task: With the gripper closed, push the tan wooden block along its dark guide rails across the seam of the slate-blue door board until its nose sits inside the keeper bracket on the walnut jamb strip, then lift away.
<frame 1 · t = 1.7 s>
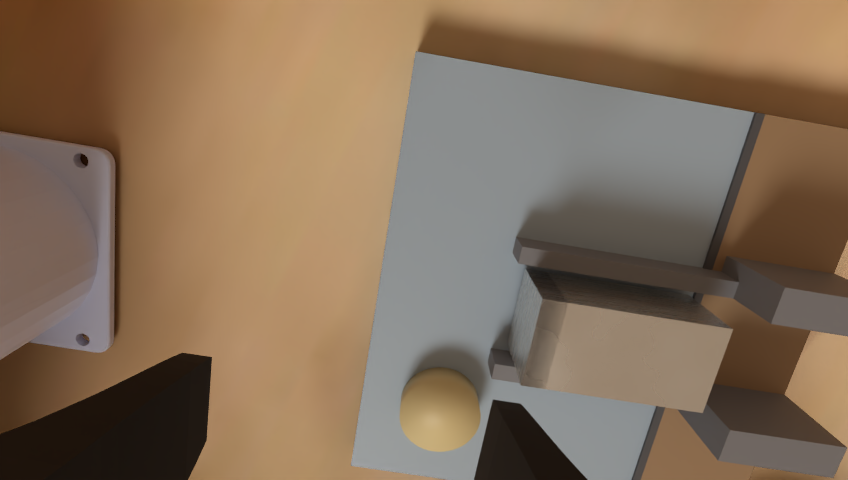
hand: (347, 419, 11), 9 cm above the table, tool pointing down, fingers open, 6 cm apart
door board: (584, 303, 20), on the table
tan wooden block: (609, 337, 18), point 3 cm above the table, slide at 0.0 cm
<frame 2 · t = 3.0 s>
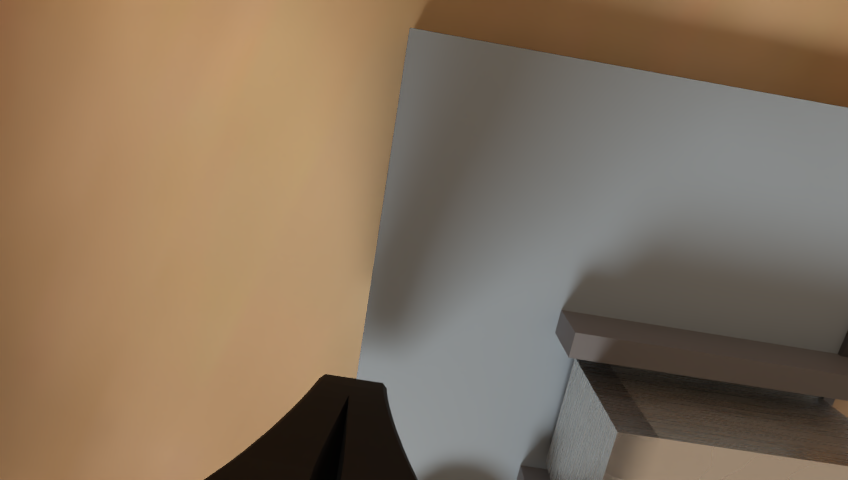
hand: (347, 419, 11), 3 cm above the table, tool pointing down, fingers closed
door board: (652, 395, 14), on the table
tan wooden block: (708, 469, 11), point 3 cm above the table, slide at 0.0 cm
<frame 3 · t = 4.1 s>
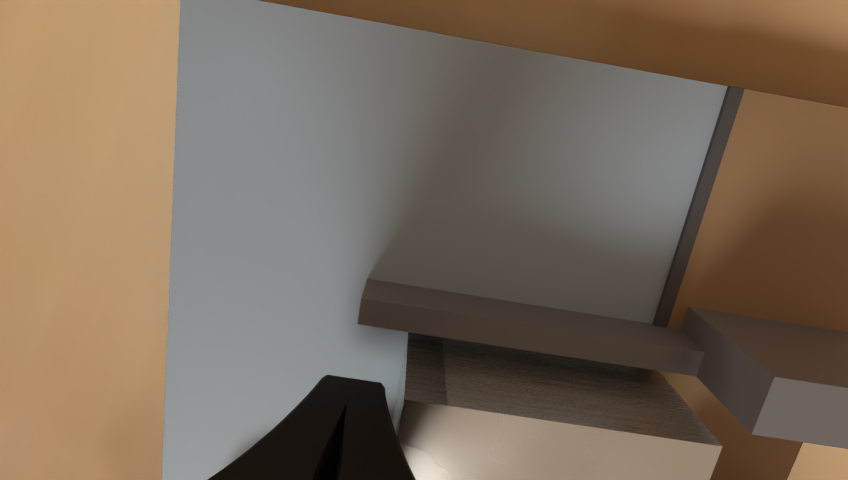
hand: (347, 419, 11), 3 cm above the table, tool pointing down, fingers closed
door board: (487, 369, 14), on the table
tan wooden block: (532, 442, 11), point 3 cm above the table, slide at 0.7 cm, touching gripper
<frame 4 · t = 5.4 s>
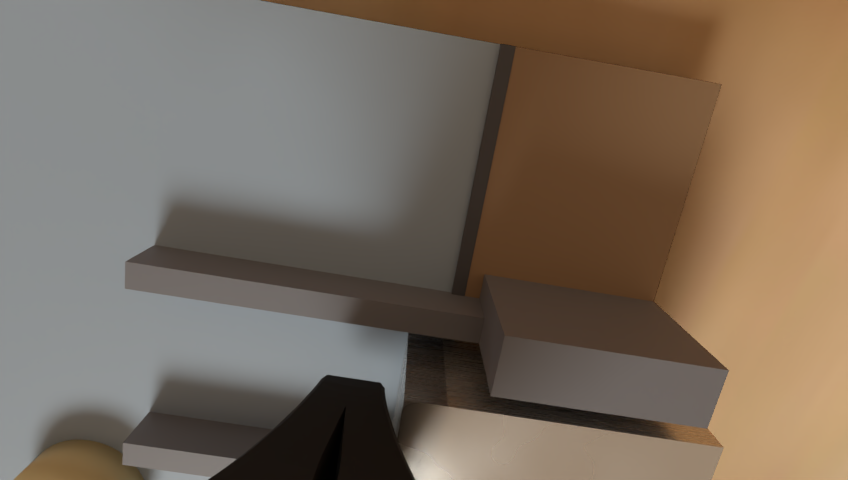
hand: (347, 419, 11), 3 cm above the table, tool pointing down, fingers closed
door board: (307, 342, 14), on the table
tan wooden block: (532, 443, 11), point 3 cm above the table, slide at 5.5 cm, touching gripper
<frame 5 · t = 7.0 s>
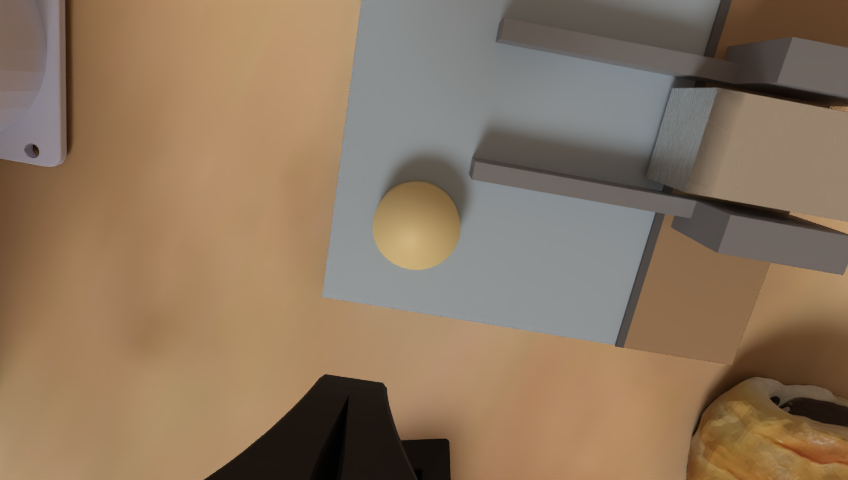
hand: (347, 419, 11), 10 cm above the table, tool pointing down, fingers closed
door board: (574, 118, 19), on the table
pastry: (754, 449, 23), on the table
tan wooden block: (769, 154, 16), point 3 cm above the table, slide at 5.5 cm
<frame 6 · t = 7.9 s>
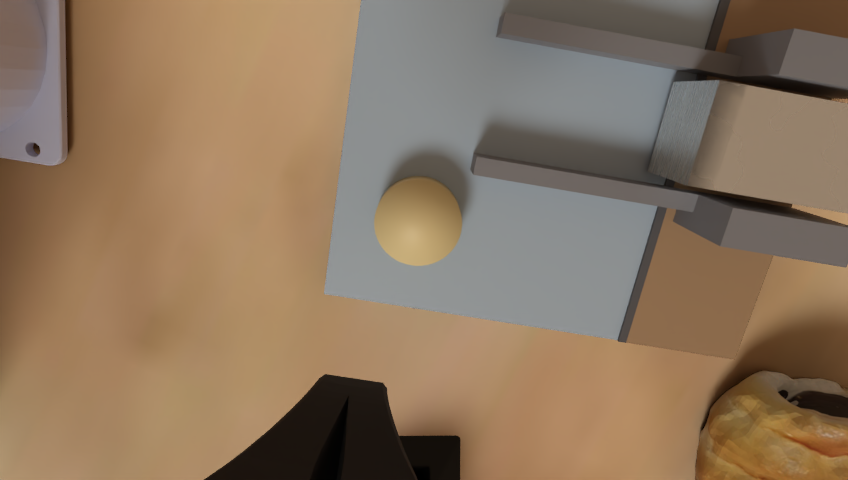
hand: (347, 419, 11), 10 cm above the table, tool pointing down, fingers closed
door board: (575, 113, 19), on the table
pastry: (763, 443, 23), on the table
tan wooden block: (771, 147, 16), point 3 cm above the table, slide at 5.5 cm
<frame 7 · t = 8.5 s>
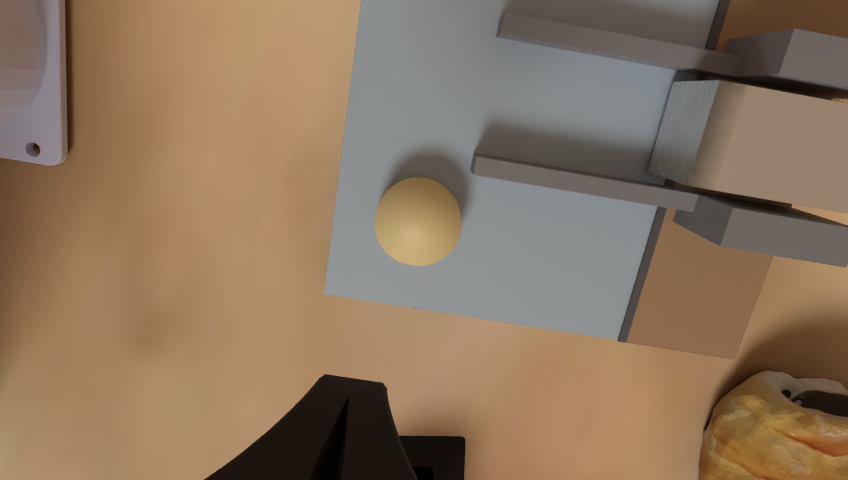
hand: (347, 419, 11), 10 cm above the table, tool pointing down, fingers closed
door board: (575, 113, 19), on the table
pastry: (766, 443, 23), on the table
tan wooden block: (771, 147, 16), point 3 cm above the table, slide at 5.5 cm
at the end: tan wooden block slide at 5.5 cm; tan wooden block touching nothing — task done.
